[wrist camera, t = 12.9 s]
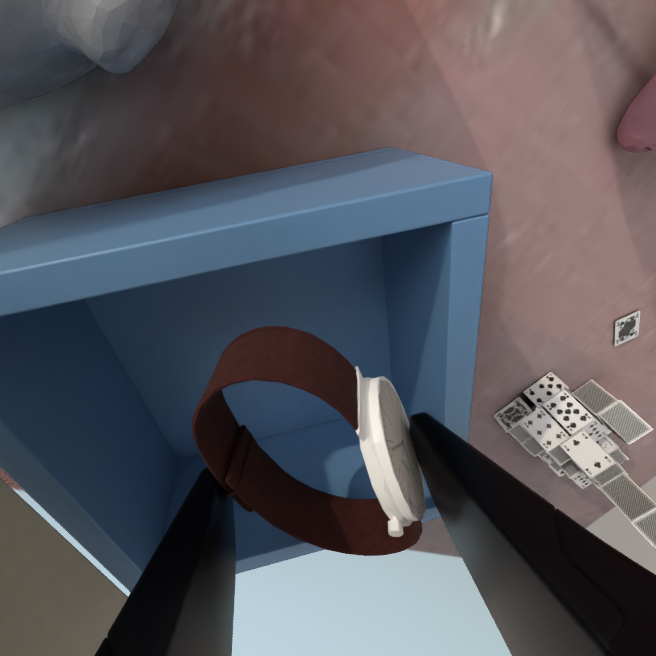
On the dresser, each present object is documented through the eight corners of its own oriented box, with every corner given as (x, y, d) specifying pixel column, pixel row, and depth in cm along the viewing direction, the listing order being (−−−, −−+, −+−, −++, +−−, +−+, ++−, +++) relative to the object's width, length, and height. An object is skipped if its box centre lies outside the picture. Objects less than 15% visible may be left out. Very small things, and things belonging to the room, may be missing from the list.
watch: (430, 456, 12) (493, 578, 9) (305, 516, 12) (324, 651, 9) (330, 265, 8) (384, 371, 5) (145, 366, 8) (81, 523, 5)
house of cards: (677, 389, 21) (860, 508, 15) (553, 470, 24) (666, 604, 17) (636, 303, 17) (868, 420, 11) (489, 412, 19) (607, 563, 13)
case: (392, 146, 12) (494, 171, 7) (404, 402, 18) (461, 512, 13) (21, 217, 11) (-172, 306, 6) (171, 460, 17) (138, 601, 12)
